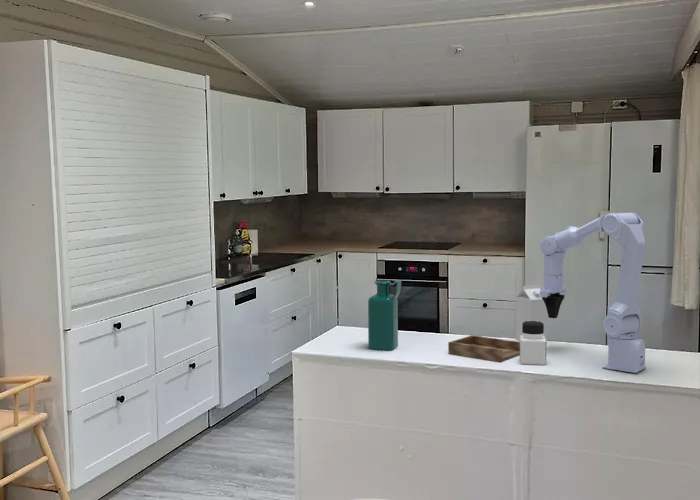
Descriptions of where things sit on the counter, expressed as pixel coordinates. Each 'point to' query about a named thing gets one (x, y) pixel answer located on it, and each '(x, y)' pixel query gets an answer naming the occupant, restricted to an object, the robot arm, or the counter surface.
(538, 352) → the medicine bottle
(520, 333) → the milk carton
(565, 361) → the counter surface
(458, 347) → the wooden tray
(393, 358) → the counter surface
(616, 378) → the counter surface
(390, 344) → the pitcher
